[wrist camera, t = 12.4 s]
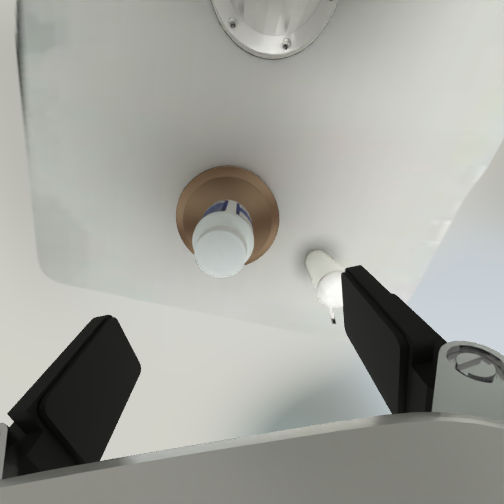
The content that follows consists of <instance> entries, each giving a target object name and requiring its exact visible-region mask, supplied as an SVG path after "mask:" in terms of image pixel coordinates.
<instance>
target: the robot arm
mask: <svg viewBox="0 0 504 504" xmlns="http://www.w3.org/2000/svg"><path fill="white" fill-rule="evenodd" d="M211 1H212V4H213V7H214V10H215V12H216V15H217V17H218V19H219V21H220V23H221V25H222V26H223V28H224V30H225V31H226V33H227V34H228V35H229V36H230V37H231V39H232V40H233V41H234V42H235V43H236V44H238V45H239V46H240V47H241V48H242V49H244V50H245V51H247V52H249V53H251V54H253V55H255V56H258V57H262V58H266V59H280V58H285V57H289V56H292V55H294V54H296V53H298V52H300V51H302V50H303V49H304V48H306V47H307V46H309V45H310V44H311V43H312V42H313V41H314V40H315V39H316V38H317V37H318V36H319V35H320V33H321V32H322V30H323V29H324V27H325V26H326V25H327V23H328V21H329V19H330V17H331V16H332V14H333V12H334V10H335V8H336V5H337V2H338V0H331V1H329V0H211ZM232 24H234V25H235V28H231V27H230V26H231V25H232ZM284 45H286V46H287V50H285V49H284V48H283V46H284ZM341 284H342V298H343V312H344V326H345V331H346V333H347V336H348V337H349V339H350V341H351V343H352V344H353V346H354V348H355V350H356V351H357V353H358V355H359V357H360V358H361V360H362V362H363V364H364V365H365V367H366V369H367V371H368V372H369V374H370V376H371V378H372V379H373V381H374V383H375V385H376V386H377V388H378V390H379V392H380V394H381V395H382V397H383V399H384V400H385V402H386V404H387V406H388V407H389V409H390V411H391V413H392V414H391V415H381V416H374V417H367V418H360V419H353V420H346V421H339V422H332V423H325V424H319V425H313V426H307V427H301V428H295V429H288V430H282V431H276V432H270V433H264V434H258V435H251V436H245V437H239V438H233V439H227V440H221V441H215V442H209V443H203V444H197V445H192V446H185V447H180V448H174V449H168V450H163V451H156V452H150V453H144V454H139V455H133V456H127V457H122V458H116V459H110V460H104V461H100V459H101V457H102V455H103V453H104V451H105V448H106V446H107V444H108V442H109V440H110V438H111V435H112V433H113V431H114V429H115V427H116V424H117V423H118V420H119V418H120V416H121V414H122V412H123V410H124V407H125V405H126V403H127V401H128V399H129V397H130V394H131V392H132V390H133V388H134V385H135V384H136V381H137V379H138V377H139V375H140V372H141V365H140V363H139V361H138V359H137V357H136V355H135V353H134V351H133V349H132V347H131V345H130V343H129V342H128V340H127V338H126V336H125V334H124V332H123V330H122V328H121V326H120V324H119V322H118V320H117V319H116V318H114V317H112V316H111V315H105V316H100V317H96V318H93V319H92V320H91V321H90V322H89V323H88V324H87V326H86V327H85V328H84V329H83V330H82V331H81V332H80V333H79V335H78V336H77V337H76V338H75V339H74V340H73V341H72V342H71V343H70V345H69V346H68V347H67V348H66V349H65V350H64V351H63V352H62V353H61V355H60V356H59V357H58V358H57V359H56V360H55V361H54V362H53V363H52V365H51V366H50V367H49V368H48V369H47V370H46V371H45V372H44V374H43V375H42V376H41V377H40V378H39V379H38V380H37V381H36V383H35V384H34V385H33V386H32V387H31V388H30V389H29V390H28V391H27V392H26V394H25V395H24V396H23V397H22V398H21V399H20V400H19V401H18V402H17V404H16V405H15V406H14V407H13V408H12V409H11V410H10V411H9V412H8V415H9V416H10V417H11V419H12V420H13V421H14V423H13V424H12V425H11V426H10V427H8V426H7V425H6V424H4V423H0V504H504V356H503V355H501V354H500V353H498V352H497V351H495V350H493V349H490V348H489V347H486V346H483V345H480V344H477V343H473V342H467V341H453V342H449V343H447V342H446V341H445V340H444V339H443V338H442V337H441V336H440V335H439V334H437V333H436V332H435V331H434V330H433V329H432V328H431V327H430V326H429V325H428V324H427V323H426V322H425V321H423V320H422V319H421V318H420V317H419V316H418V315H417V314H416V313H415V312H414V311H412V309H411V308H410V307H408V306H407V305H406V304H405V303H404V302H403V301H402V300H401V299H400V298H399V297H398V296H396V295H395V294H392V293H390V292H389V291H388V290H387V289H386V288H385V287H383V286H382V285H381V284H380V283H379V282H378V281H377V280H376V279H375V278H374V277H373V276H372V275H371V274H370V273H369V272H368V271H367V270H366V269H365V268H364V267H363V266H361V265H359V266H354V267H349V268H346V269H345V272H342V273H341Z"/></svg>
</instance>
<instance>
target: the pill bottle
mask: <svg viewBox="0 0 504 504" xmlns="http://www.w3.org/2000/svg"><path fill="white" fill-rule="evenodd" d="M192 245H193V249H194V256H195V260H196V262H197V265H198V266H199V267H200V269H201V270H202V271H203V272H205V273H206V274H208V275H210V276H212V277H217V278H226V277H230V276H232V275H234V274H236V273H237V272H239V271H240V270H241V268H242V267H243V265H244V264H245V262H246V261H247V260H248V259H249V257H250V256H251V254H252V251H253V247H254V235H253V228H252V222H251V217H250V215H249V213H248V211H247V210H246V208H245V207H244V206H243V205H241V204H240V203H238V202H236V201H233V200H220V201H217V202H215V203H214V204H212V205H211V206H210V207H209V208H208V209H207V210H206V212H205V214H204V215H203V217H202V218H201V220H200V221H199V223H198V224H197V226H196V228H195V230H194V233H193V237H192Z"/></svg>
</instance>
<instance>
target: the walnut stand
mask: <svg viewBox="0 0 504 504" xmlns="http://www.w3.org/2000/svg"><path fill="white" fill-rule="evenodd" d="M220 200H233V201H236V202H238V203H240V204H241V205H243V206H244V207H245V208H246V210H247V211H248V213H249V215H250V217H251V222H252V228H253V235H254V247H253V251H252V254H251V256H250V257H249V259H248V260H247V261H246V262H245V264H244V265H247V264H249V263H251V262H253V261H255V260H257V259H258V258H260V257H261V256H262V255H263V254H264V253H265V252H266V251H267V250H268V249H269V248H270V246H271V245H272V243H273V241H274V239H275V237H276V235H277V231H278V226H279V211H278V206H277V203H276V200H275V198H274V196H273V194H272V192H271V190H270V189H269V188H268V187H267V185H266V184H265V183H264V182H263V181H262V180H261V179H260V178H259V177H258V176H256V175H255V174H254V173H252V172H250V171H248V170H246V169H243V168H240V167H235V166H221V167H216V168H213V169H210V170H207V171H205V172H203V173H201V174H199V175H198V176H196V177H195V178H194V179H193V180H192V181H190V182H189V184H188V185H187V186H186V187H185V189H184V190H183V192H182V194H181V196H180V198H179V201H178V204H177V210H176V222H177V228H178V231H179V234H180V236H181V239H182V240H183V242H184V244H185V245H186V246H187V248H188V249H189V250H190V251H191V252H192V253H193V254H194V249H193V245H192V237H193V233H194V230H195V228H196V226H197V224H198V223H199V221H200V220H201V218H202V217H203V215H204V214H205V212H206V210H207V209H208V208H209V207H210V206H211V205H212V204H214V203H215V202H217V201H220Z"/></svg>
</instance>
